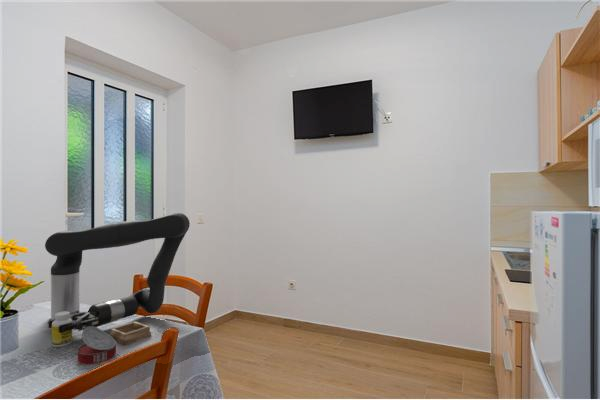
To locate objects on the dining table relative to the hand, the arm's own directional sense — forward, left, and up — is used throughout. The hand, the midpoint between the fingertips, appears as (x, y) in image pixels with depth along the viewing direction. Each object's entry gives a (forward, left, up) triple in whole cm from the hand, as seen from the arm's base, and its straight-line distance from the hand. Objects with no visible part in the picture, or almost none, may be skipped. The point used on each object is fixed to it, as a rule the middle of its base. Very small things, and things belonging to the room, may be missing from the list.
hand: (53, 327), depth 111 cm
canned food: (+18, +4, -6) cm, 19 cm away
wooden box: (+13, +17, -6) cm, 22 cm away
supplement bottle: (0, +2, -6) cm, 7 cm away
